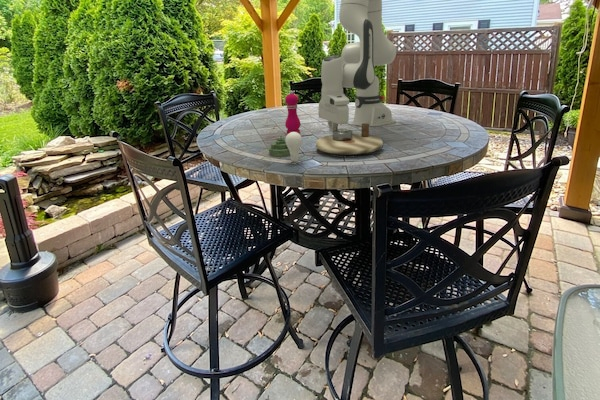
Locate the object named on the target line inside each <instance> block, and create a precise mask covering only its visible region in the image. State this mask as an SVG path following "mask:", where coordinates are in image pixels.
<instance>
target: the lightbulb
mask: <svg viewBox="0 0 600 400" xmlns="http://www.w3.org/2000/svg"><path fill="white" fill-rule="evenodd" d="M284 140H285V142H286V145H287V147H288V148H289V151H290V159H291V161H292V162H293V163H296V162H297V161H299V154H300V150H301V149H300V148H301V146H302V144H303V136H302V135H301V133H300V134H299V133H297V132H291V133H289V134H288V135H287V134H286V136H285V139H284Z"/></svg>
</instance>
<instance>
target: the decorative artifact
mask: <svg viewBox="0 0 600 400" xmlns="http://www.w3.org/2000/svg"><path fill="white" fill-rule="evenodd" d="M268 152H269V156H272V157H274V158H275V157H276V158H285V157H289V156H290V157H291V155H290V151H289V148H288V147H287V145H286V142H285V139H284V137H282V135H280V137H279V138H277V139H276V141H275V142H272V143H271V144H270V146H269V147H268Z"/></svg>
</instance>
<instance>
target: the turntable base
mask: <svg viewBox="0 0 600 400" xmlns="http://www.w3.org/2000/svg"><path fill="white" fill-rule="evenodd" d="M324 153H325V154H328V155H331V156H334V155H335V157H342V156H346V157H345V158H347V157H349V158H350V157H351V158H352V157H353V156H354V157H362V156H367V155H370V154H372V153H373V152H369V153H362V154H334V153H328V152H324Z"/></svg>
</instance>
